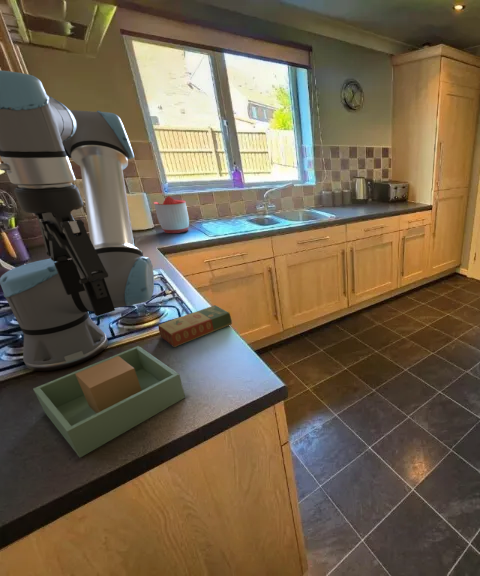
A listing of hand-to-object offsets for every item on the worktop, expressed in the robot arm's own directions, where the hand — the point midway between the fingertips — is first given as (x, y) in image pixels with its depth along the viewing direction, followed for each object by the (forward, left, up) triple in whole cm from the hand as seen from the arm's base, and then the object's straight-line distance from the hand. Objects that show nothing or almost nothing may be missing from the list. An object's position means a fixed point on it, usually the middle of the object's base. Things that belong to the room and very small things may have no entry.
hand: (90, 302), depth 62 cm
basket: (+4, -2, -21) cm, 22 cm away
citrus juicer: (-127, +75, -21) cm, 149 cm away
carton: (-11, +23, -21) cm, 33 cm away
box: (+4, -2, -21) cm, 21 cm away
